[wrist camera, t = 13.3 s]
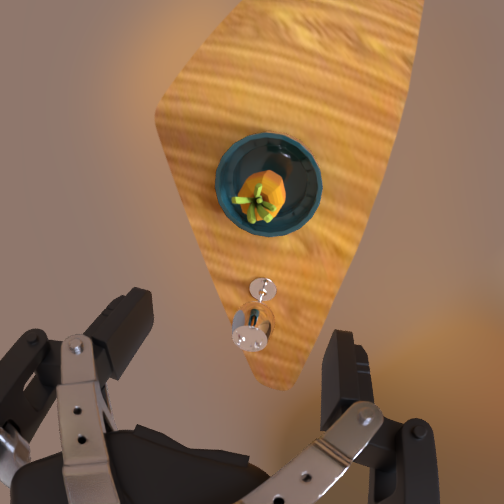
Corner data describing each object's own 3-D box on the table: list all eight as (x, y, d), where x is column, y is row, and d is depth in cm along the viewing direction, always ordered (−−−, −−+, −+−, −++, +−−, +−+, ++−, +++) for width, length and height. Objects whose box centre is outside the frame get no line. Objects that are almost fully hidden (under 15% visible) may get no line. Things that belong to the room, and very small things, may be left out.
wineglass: (285, 280, 46) (277, 330, 36) (274, 308, 49) (264, 359, 38) (250, 269, 47) (233, 316, 36) (241, 297, 49) (223, 346, 39)
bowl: (229, 126, 38) (219, 127, 33) (327, 139, 36) (330, 142, 32) (221, 215, 43) (212, 227, 39) (311, 230, 42) (311, 244, 38)
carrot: (246, 174, 40) (214, 206, 26) (275, 153, 38) (257, 174, 24) (268, 203, 41) (248, 248, 28) (297, 183, 39) (292, 219, 26)
